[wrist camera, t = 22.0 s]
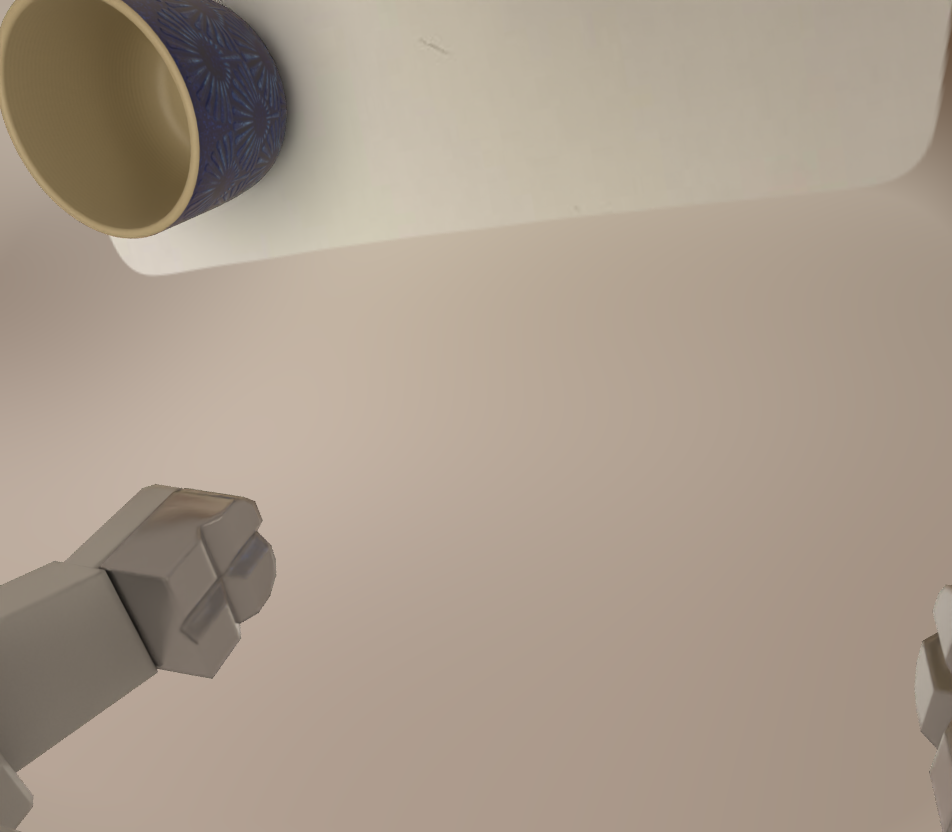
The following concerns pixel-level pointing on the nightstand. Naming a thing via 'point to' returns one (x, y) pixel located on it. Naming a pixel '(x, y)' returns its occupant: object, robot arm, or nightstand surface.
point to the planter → (139, 107)
